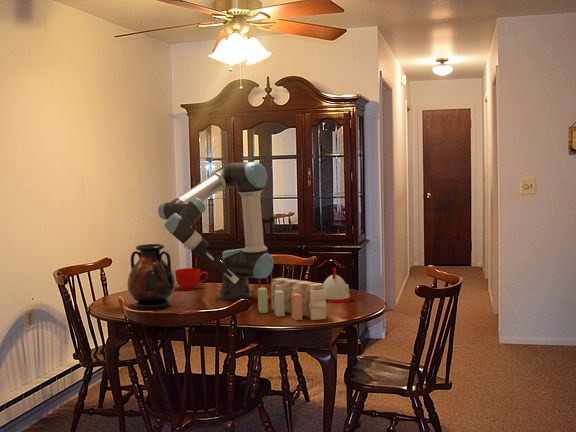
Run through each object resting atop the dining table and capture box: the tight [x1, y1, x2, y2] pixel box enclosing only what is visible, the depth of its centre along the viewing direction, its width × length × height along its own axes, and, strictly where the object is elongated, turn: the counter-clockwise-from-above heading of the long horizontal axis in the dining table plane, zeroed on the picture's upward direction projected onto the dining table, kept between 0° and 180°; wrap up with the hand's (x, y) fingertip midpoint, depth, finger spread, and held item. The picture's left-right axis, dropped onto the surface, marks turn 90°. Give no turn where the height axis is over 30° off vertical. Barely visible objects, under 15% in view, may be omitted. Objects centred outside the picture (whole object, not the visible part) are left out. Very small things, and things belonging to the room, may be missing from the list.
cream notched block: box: [270, 277, 327, 321], centre depth 288 cm, size 31×10×14 cm, turn 44°
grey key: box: [274, 290, 286, 317], centre depth 286 cm, size 5×3×10 cm, turn 15°
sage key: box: [257, 287, 269, 314], centre depth 293 cm, size 5×3×10 cm, turn 15°
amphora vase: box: [127, 243, 176, 310], centre depth 312 cm, size 22×22×28 cm
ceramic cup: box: [174, 267, 209, 291], centre depth 354 cm, size 13×17×10 cm
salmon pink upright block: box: [291, 293, 303, 321], centre depth 278 cm, size 5×3×10 cm, turn 15°
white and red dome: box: [322, 267, 351, 304], centre depth 316 cm, size 14×14×15 cm
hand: (236, 281), depth 289 cm, fingers closed
